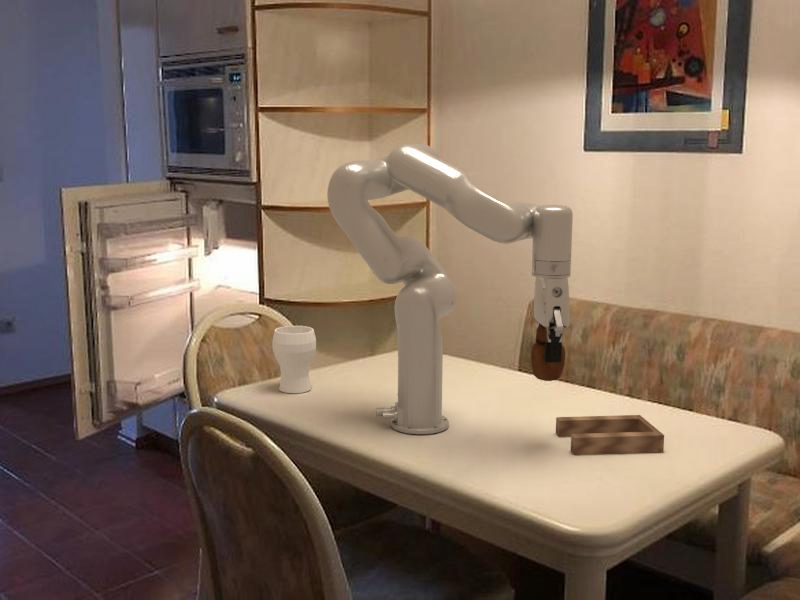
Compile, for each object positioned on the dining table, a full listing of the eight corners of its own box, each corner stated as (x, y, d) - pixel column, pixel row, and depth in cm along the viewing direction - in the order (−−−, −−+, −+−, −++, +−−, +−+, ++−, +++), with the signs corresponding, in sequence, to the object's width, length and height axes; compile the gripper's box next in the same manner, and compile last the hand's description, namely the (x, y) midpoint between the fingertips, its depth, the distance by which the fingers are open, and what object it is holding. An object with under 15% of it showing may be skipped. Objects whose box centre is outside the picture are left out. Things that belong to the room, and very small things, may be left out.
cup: (325, 387, 224) (324, 328, 222) (298, 397, 216) (297, 336, 213) (292, 381, 230) (291, 323, 227) (264, 391, 221) (263, 330, 218)
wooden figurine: (564, 376, 184) (567, 303, 181) (564, 383, 178) (567, 309, 175) (531, 374, 185) (533, 302, 182) (529, 381, 179) (531, 307, 177)
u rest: (574, 455, 178) (574, 437, 177) (555, 433, 191) (556, 417, 190) (663, 452, 180) (664, 435, 179) (639, 430, 193) (639, 414, 192)
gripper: (583, 274, 169) (579, 368, 173) (557, 262, 186) (554, 347, 190) (543, 275, 169) (540, 368, 172) (522, 262, 186) (519, 348, 189)
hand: (548, 356), depth 181 cm, fingers closed on wooden figurine, 6 cm apart
